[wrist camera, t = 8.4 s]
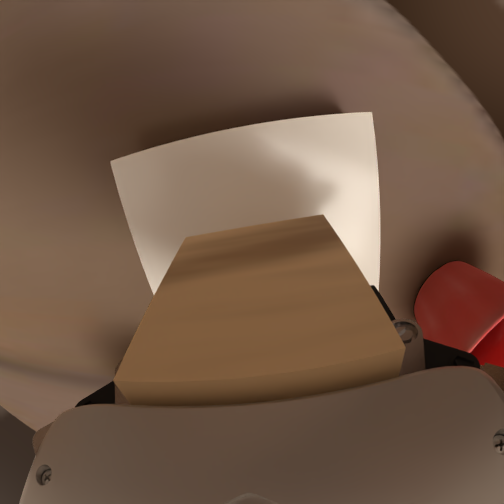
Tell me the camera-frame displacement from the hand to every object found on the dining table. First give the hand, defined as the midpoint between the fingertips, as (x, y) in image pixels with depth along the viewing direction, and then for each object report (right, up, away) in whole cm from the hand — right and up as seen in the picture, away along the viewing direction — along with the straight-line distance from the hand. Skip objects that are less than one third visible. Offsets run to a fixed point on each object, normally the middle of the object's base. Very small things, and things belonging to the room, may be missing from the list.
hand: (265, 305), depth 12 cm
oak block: (0, +1, +1) cm, 2 cm away
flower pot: (+18, -2, +12) cm, 22 cm away
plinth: (0, +4, +9) cm, 10 cm away
